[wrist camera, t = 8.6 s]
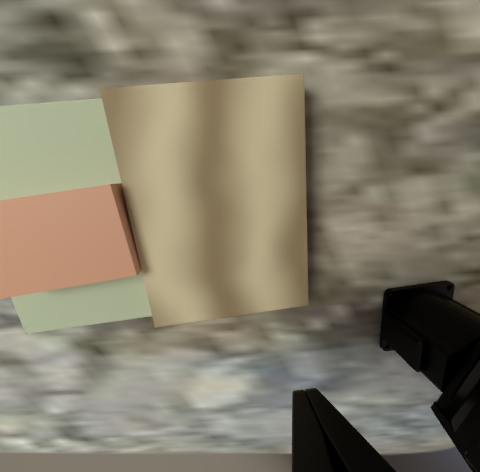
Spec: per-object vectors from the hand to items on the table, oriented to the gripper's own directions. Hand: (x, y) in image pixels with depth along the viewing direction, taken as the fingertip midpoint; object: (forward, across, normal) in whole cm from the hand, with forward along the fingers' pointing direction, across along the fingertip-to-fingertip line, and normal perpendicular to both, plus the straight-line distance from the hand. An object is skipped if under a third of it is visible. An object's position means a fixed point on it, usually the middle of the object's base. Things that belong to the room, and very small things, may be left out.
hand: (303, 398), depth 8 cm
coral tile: (+11, +13, -5) cm, 18 cm away
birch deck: (+11, +2, -5) cm, 13 cm away
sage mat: (+11, +14, -5) cm, 19 cm away
